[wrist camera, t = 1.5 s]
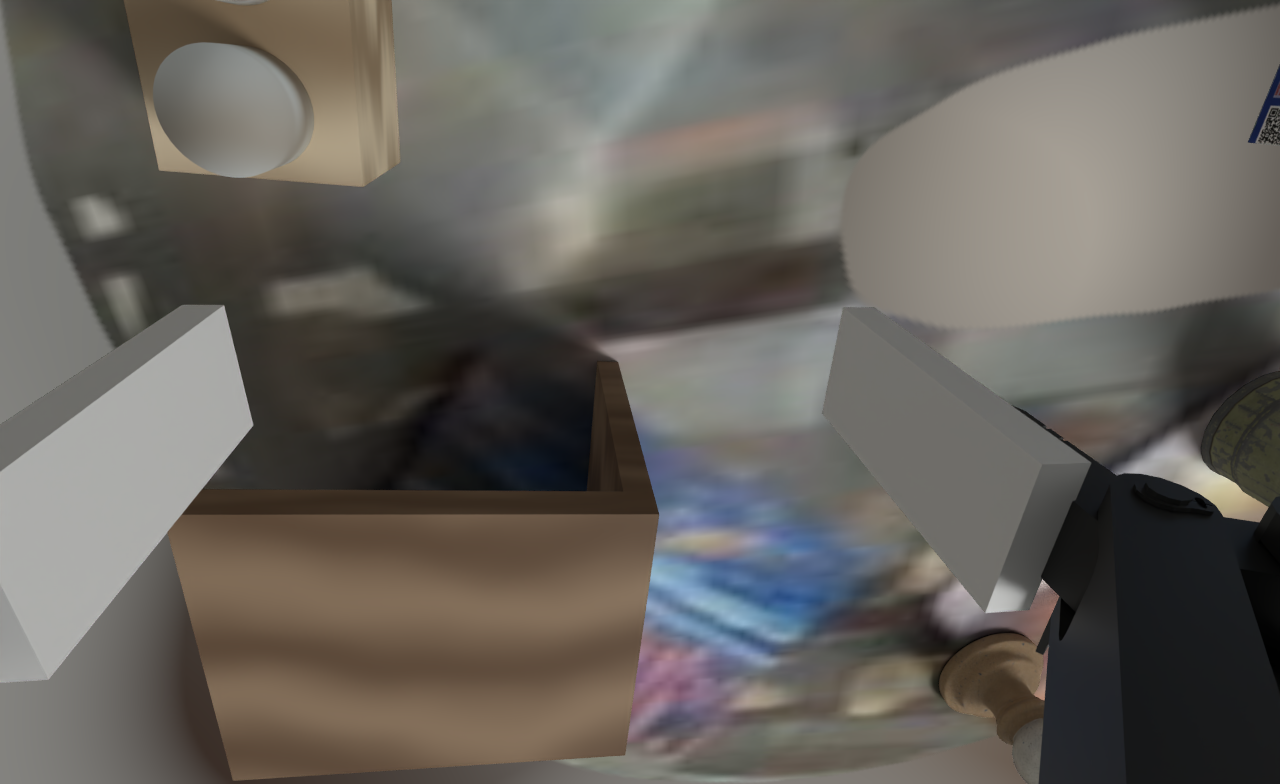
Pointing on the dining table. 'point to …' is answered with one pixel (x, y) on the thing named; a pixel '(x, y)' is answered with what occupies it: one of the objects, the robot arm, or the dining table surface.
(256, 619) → the wooden cubby
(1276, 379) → the thermos
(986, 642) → the candle holder
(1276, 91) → the beverage box
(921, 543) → the dining table surface
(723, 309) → the dining table surface
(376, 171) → the glass caddy
